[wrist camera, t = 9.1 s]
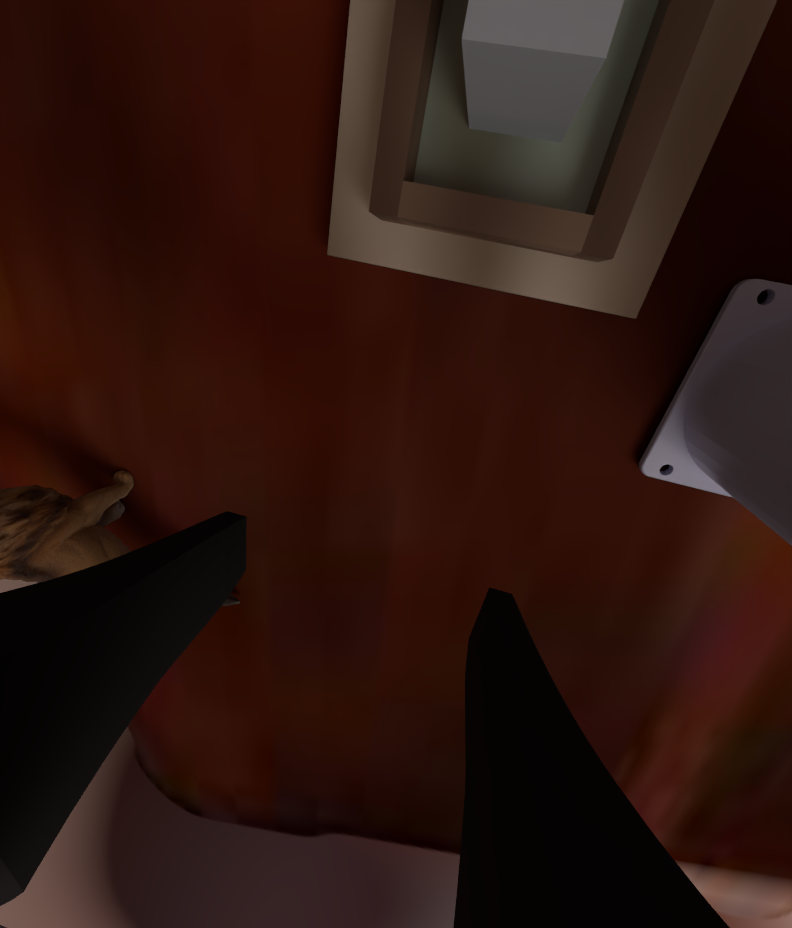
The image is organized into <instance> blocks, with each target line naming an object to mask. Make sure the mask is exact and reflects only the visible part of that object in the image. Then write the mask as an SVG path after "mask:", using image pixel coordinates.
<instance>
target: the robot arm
mask: <svg viewBox="0 0 792 928" xmlns="http://www.w3.org/2000/svg"><path fill="white" fill-rule="evenodd" d="M764 290H766V291H767V293H768V296H767V299H766V300H765V301H764V302H763V303H761V304H758V302H757V297H758V295H759V294H760V293H761V292H762V291H764ZM666 464H668V465H669V468H668V469H667V470H666V471H660V468H661V467H662V466H663V465H666ZM639 469H640V470H641V471H642V472H643V473H644V474H645V475H647V476H649V477H653V478H657V479H661V480H665V481H669V482H673V483H677V484H681V485H685V486H689V487H693V488H697V489H701V490H705V491H709V492H713V493H717V494H721V495H725V496H729V497H733V498H735V499H736V500H737V501H738V502H740V503H741V504H742V505H743V506H744V507H746V508H747V509H748V510H749V511H750V512H752V513H753V514H754V515H755V516H756V517H758V518H759V519H760V520H761V521H763V522H764V523H765V524H766V525H767V526H769V527H770V528H771V529H772V530H773V531H775V532H776V533H777V534H778V535H779V536H781V537H782V538H783V539H784V540H785V541H787V542H788V543H789V544H790V545H792V285H788V284H783V283H777V282H772V281H767V280H762V279H746V280H743V281H741V282H739V283H738V284H736V285H735V286H734V287H733V289H732V290H731V291H730V293H729V295H728V297H727V299H726V301H725V302H724V304H723V306H722V308H721V310H720V312H719V314H718V316H717V317H716V319H715V321H714V323H713V325H712V327H711V329H710V330H709V332H708V334H707V336H706V338H705V340H704V342H703V344H702V345H701V347H700V349H699V351H698V353H697V355H696V357H695V359H694V360H693V362H692V364H691V366H690V368H689V370H688V372H687V374H686V375H685V377H684V379H683V381H682V383H681V385H680V387H679V389H678V390H677V392H676V394H675V396H674V398H673V400H672V402H671V404H670V405H669V407H668V409H667V411H666V413H665V415H664V417H663V418H662V420H661V422H660V424H659V426H658V428H657V430H656V432H655V433H654V435H653V437H652V439H651V441H650V443H649V445H648V447H647V448H646V450H645V452H644V454H643V456H642V458H641V460H640V462H639ZM245 570H246V517H245V516H242V515H238V514H235V513H232V512H228V511H227V512H224V513H222V514H219V515H217V516H214V517H212V518H210V519H207V520H205V521H203V522H200V523H198V524H196V525H194V526H191V527H189V528H187V529H185V530H182V531H180V532H178V533H175V534H173V535H171V536H168V537H166V538H164V539H161V540H159V541H157V542H154V543H152V544H149V545H147V546H144V547H142V548H139V549H137V550H134V551H132V552H129V553H126V554H124V555H121V556H119V557H116V558H114V559H111V560H108V561H106V562H103V563H100V564H97V565H94V566H91V567H89V568H86V569H83V570H80V571H76V572H73V573H70V574H67V575H64V576H61V577H57V578H54V579H51V580H48V581H44V582H40V583H37V584H33V585H29V586H26V587H22V588H18V589H14V590H10V591H7V592H3V593H0V906H1V905H3V904H5V903H7V902H9V901H11V900H12V899H14V898H15V897H16V896H18V895H19V894H21V893H23V892H24V890H25V889H26V887H27V885H28V883H29V882H30V880H31V878H32V876H33V875H34V873H35V871H36V870H37V868H38V866H39V865H40V863H41V861H42V860H43V858H44V856H45V854H46V853H47V851H48V850H49V848H50V846H51V845H52V843H53V841H54V840H55V838H56V837H57V835H58V833H59V832H60V830H61V828H62V826H63V825H64V823H65V822H66V820H67V818H68V817H69V815H70V813H71V812H72V810H73V808H74V807H75V805H76V804H77V802H78V801H79V799H80V798H81V796H82V795H83V793H84V791H85V790H86V788H87V787H88V785H89V783H90V782H91V780H92V779H93V777H94V776H95V774H96V772H97V771H98V769H99V768H100V766H101V765H102V763H103V762H104V760H105V759H106V757H107V756H108V754H109V753H110V751H111V750H112V748H113V747H114V745H115V744H116V742H117V741H118V739H119V738H120V736H121V735H122V733H123V732H124V730H125V729H126V727H127V726H128V724H129V723H130V721H131V720H132V719H133V717H134V716H135V714H136V713H137V711H138V710H139V709H140V707H141V706H142V704H143V703H144V701H145V700H146V699H147V697H148V696H149V694H150V693H151V692H152V690H153V689H154V687H155V686H156V684H157V683H158V682H159V681H160V679H161V678H162V677H163V675H164V674H165V673H166V672H167V670H168V669H169V668H170V667H171V665H172V664H173V663H174V662H175V661H176V659H177V658H178V657H179V656H180V655H181V654H182V652H183V651H184V650H185V649H186V648H187V646H188V645H189V644H190V643H191V642H192V641H193V639H194V638H195V637H196V636H197V635H198V633H199V632H200V631H201V630H202V629H203V627H204V626H205V625H206V624H207V623H208V622H209V620H210V619H211V618H212V617H213V616H214V614H215V613H216V612H217V611H218V609H219V608H220V607H221V606H222V605H223V603H224V602H225V601H226V600H227V598H228V597H229V595H230V594H231V592H232V591H233V589H234V588H235V586H236V585H237V583H238V581H239V580H240V578H241V577H242V575H243V573H244V572H245ZM465 736H466V779H465V800H464V814H463V827H462V840H461V852H460V864H459V875H458V887H457V898H456V908H455V919H454V928H729V926H727V924H726V923H725V922H724V921H723V919H722V918H721V917H720V916H719V915H718V914H717V913H716V911H715V910H714V909H713V908H712V907H711V905H710V904H709V903H708V902H707V901H706V899H705V898H704V897H703V896H702V895H701V893H700V892H699V891H698V890H697V888H696V887H695V886H694V885H693V883H692V882H691V881H690V880H689V878H688V877H687V876H686V875H685V873H684V872H683V871H682V870H681V868H680V867H679V866H678V865H677V863H676V862H675V861H674V860H673V858H672V857H671V856H670V855H669V853H668V852H667V851H666V850H665V848H664V847H663V846H662V844H661V843H660V842H659V840H658V839H657V838H656V837H655V835H654V834H653V833H652V831H651V830H650V829H649V827H648V826H647V825H646V823H645V822H644V820H643V819H642V818H641V816H640V815H639V814H638V812H637V811H636V810H635V808H634V807H633V805H632V804H631V803H630V801H629V800H628V799H627V797H626V796H625V795H624V793H623V792H622V790H621V789H620V788H619V786H618V785H617V784H616V782H615V781H614V779H613V778H612V776H611V775H610V773H609V772H608V771H607V769H606V768H605V766H604V765H603V763H602V762H601V760H600V759H599V757H598V756H597V754H596V752H595V751H594V749H593V748H592V746H591V745H590V743H589V742H588V740H587V738H586V737H585V735H584V734H583V732H582V730H581V729H580V727H579V725H578V724H577V722H576V720H575V719H574V717H573V715H572V714H571V712H570V710H569V708H568V707H567V705H566V703H565V701H564V700H563V698H562V696H561V694H560V693H559V691H558V689H557V687H556V685H555V683H554V681H553V680H552V678H551V676H550V674H549V672H548V670H547V668H546V666H545V664H544V662H543V660H542V658H541V656H540V654H539V652H538V650H537V648H536V646H535V644H534V642H533V640H532V637H531V635H530V633H529V631H528V629H527V626H526V624H525V622H524V620H523V618H522V615H521V613H520V611H519V608H518V606H517V604H516V601H515V599H514V597H513V595H512V594H510V593H507V592H503V591H500V590H496V589H493V588H489V590H488V592H487V595H486V597H485V600H484V602H483V605H482V607H481V610H480V612H479V615H478V617H477V620H476V622H475V625H474V627H473V630H472V632H471V635H470V637H469V643H468V652H467V662H466V672H465ZM0 928H6V927H4V926H1V925H0Z"/></svg>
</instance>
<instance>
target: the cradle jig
mask: <svg viewBox="0 0 792 928" xmlns="http://www.w3.org/2000/svg"><path fill="white" fill-rule="evenodd" d="M468 2H469V0H350V10H349V21H348V32H347V43H346V54H345V65H344V76H343V87H342V98H341V109H340V120H339V131H338V142H337V153H336V164H335V175H334V186H333V197H332V208H331V219H330V230H329V241H328V252H327V255H331V256H336V257H340V258H345V259H350V260H355V261H359V262H364V263H369V264H374V265H379V266H383V267H388V268H393V269H398V270H403V271H407V272H412V273H417V274H422V275H427V276H432V277H436V278H441V279H446V280H451V281H456V282H460V283H465V284H470V285H475V286H480V287H484V288H489V289H494V290H499V291H504V292H508V293H513V294H518V295H523V296H528V297H532V298H537V299H542V300H547V301H552V302H557V303H561V304H566V305H571V306H576V307H581V308H585V309H590V310H595V311H600V312H605V313H609V314H614V315H619V316H624V317H629V318H634V319H636V317H637V315H638V313H639V310H640V308H641V306H642V304H643V301H644V299H645V297H646V295H647V292H648V290H649V288H650V286H651V283H652V281H653V279H654V277H655V274H656V272H657V270H658V268H659V265H660V263H661V261H662V259H663V256H664V254H665V252H666V250H667V247H668V245H669V243H670V241H671V238H672V236H673V234H674V232H675V229H676V227H677V225H678V223H679V220H680V218H681V216H682V214H683V211H684V209H685V207H686V205H687V202H688V200H689V198H690V196H691V193H692V191H693V189H694V187H695V184H696V182H697V180H698V178H699V175H700V173H701V171H702V169H703V166H704V164H705V162H706V160H707V157H708V155H709V153H710V151H711V148H712V146H713V144H714V142H715V139H716V137H717V135H718V133H719V130H720V128H721V126H722V124H723V121H724V119H725V117H726V115H727V112H728V110H729V108H730V106H731V103H732V101H733V99H734V97H735V94H736V92H737V90H738V88H739V85H740V83H741V81H742V79H743V76H744V74H745V72H746V70H747V67H748V65H749V63H750V61H751V58H752V56H753V54H754V52H755V49H756V47H757V45H758V43H759V40H760V38H761V36H762V34H763V31H764V29H765V27H766V25H767V22H768V20H769V18H770V16H771V13H772V11H773V9H774V7H775V4H776V2H777V0H624V3H623V6H622V9H621V12H620V15H619V19H618V22H617V25H616V28H615V31H614V34H613V38H612V41H611V44H610V47H609V50H608V54H607V57H606V59H605V61H604V63H603V65H602V67H601V69H600V71H599V72H598V74H597V76H596V78H595V80H594V82H593V84H592V85H591V87H590V89H589V91H588V93H587V95H586V97H585V99H584V100H583V102H582V104H581V106H580V108H579V110H578V112H577V114H576V115H575V117H574V119H573V121H572V123H571V125H570V127H569V128H568V130H567V132H566V134H565V136H564V138H563V140H562V142H561V143H558V142H552V141H545V140H539V139H533V138H526V137H520V136H514V135H507V134H501V133H495V132H488V131H482V130H476V129H469V123H468V111H467V99H466V86H465V74H464V62H463V50H462V34H463V29H464V23H465V18H466V13H467V7H468Z"/></svg>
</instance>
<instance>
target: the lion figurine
mask: <svg viewBox="0 0 792 928" xmlns="http://www.w3.org/2000/svg"><path fill="white" fill-rule="evenodd" d="M113 480H114V481H115V482H116V484H115V485H112V486H109V487H105V488H102V489H98V490H95V491H93V492H90V493H87V494H85V495H83V496H81V497H79V498H77V499H75V500H73V499H72V498H71V497H69V496H67V495H62V494H60V493H57V491H56V490H54V489H52V488H43V487H40V486H37V485H33V486H21V487H15V488H6V489H0V579H11V580H23V581H27V582H29V581H30V582H31V581H32V582H33V581H36V582H44V581H48V580H51V579H54V578H57V577H61V576H64V575H67V574H70V573H73V572H76V571H80V570H83V569H86V568H89V567H91V566H94V565H97V564H100V563H103V562H106V561H108V560H111V559H114V558H116V557H119V556H121V555H124V554H126V553H129V552H130V550H129V549H128V547H127V546H126V545H125V544H124V543H123V542H122V541H121V540H120V539H119V538H117V537H116V536H115V535H114V534H112V533H111V532H110V531H108V530H107V529H105V528H104V527H105V526H106V525H107V524H109V523H111V522H113V521H115V520H117V519H119V518H120V517H121V516H122V514H123V512H124V511H125V507H124V505H123V504H122V503H121V502H120V501H119V499H121V498H124V497H125V496H127V494H128V493H129V491H130V490H131V489H132V487H133V486H134V480H133V476H132V475H131V474H130V473H129V472H127V471H124V470H122V471H118V472H116V473H115V474H114V477H113ZM239 603H240V601H239V600H238V599H237V598H236V597H235V596H232V595H229V597H228V598H227V600H226V601H225V602H224V603H223V605H222V606H228V605H233V604H239Z"/></svg>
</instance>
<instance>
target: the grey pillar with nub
mask: <svg viewBox="0 0 792 928" xmlns="http://www.w3.org/2000/svg"><path fill="white" fill-rule="evenodd" d="M623 3H624V0H469V2H468V7H467V13H466V18H465V23H464V29H463V34H462V50H463V62H464V74H465V86H466V99H467V111H468V123H469V129H476V130H482V131H488V132H495V133H501V134H507V135H514V136H520V137H526V138H533V139H539V140H545V141H552V142H558V143H561V142H562V140H563V138H564V136H565V134H566V132H567V130H568V128H569V127H570V125H571V123H572V121H573V119H574V117H575V115H576V114H577V112H578V110H579V108H580V106H581V104H582V102H583V100H584V99H585V97H586V95H587V93H588V91H589V89H590V87H591V85H592V84H593V82H594V80H595V78H596V76H597V74H598V72H599V71H600V69H601V67H602V65H603V63H604V61H605V59H606V57H607V54H608V50H609V47H610V44H611V41H612V38H613V34H614V31H615V28H616V25H617V22H618V19H619V15H620V12H621V9H622V6H623Z"/></svg>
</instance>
